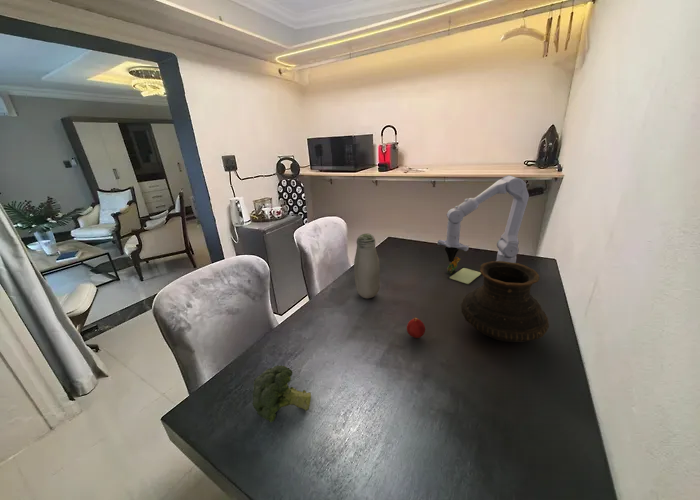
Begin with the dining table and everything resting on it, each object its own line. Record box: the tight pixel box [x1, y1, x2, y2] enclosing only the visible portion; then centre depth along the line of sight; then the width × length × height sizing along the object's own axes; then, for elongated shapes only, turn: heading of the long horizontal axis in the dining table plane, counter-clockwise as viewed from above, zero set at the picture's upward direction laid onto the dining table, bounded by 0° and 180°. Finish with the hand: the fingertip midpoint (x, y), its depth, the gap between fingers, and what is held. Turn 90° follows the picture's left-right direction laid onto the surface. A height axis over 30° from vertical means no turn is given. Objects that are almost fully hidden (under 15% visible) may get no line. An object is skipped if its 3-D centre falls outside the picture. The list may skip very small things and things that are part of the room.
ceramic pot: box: [460, 260, 550, 343], centre depth 83 cm, size 24×24×22 cm
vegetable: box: [251, 364, 312, 423], centre depth 66 cm, size 12×13×15 cm
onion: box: [406, 317, 426, 339], centre depth 86 cm, size 6×6×8 cm
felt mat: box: [449, 267, 482, 285], centre depth 124 cm, size 14×9×1 cm, turn 132°
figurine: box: [446, 256, 462, 275], centre depth 126 cm, size 3×12×8 cm, turn 133°
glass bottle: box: [353, 233, 381, 299], centre depth 108 cm, size 10×10×28 cm
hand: (451, 261), depth 127 cm, fingers closed
